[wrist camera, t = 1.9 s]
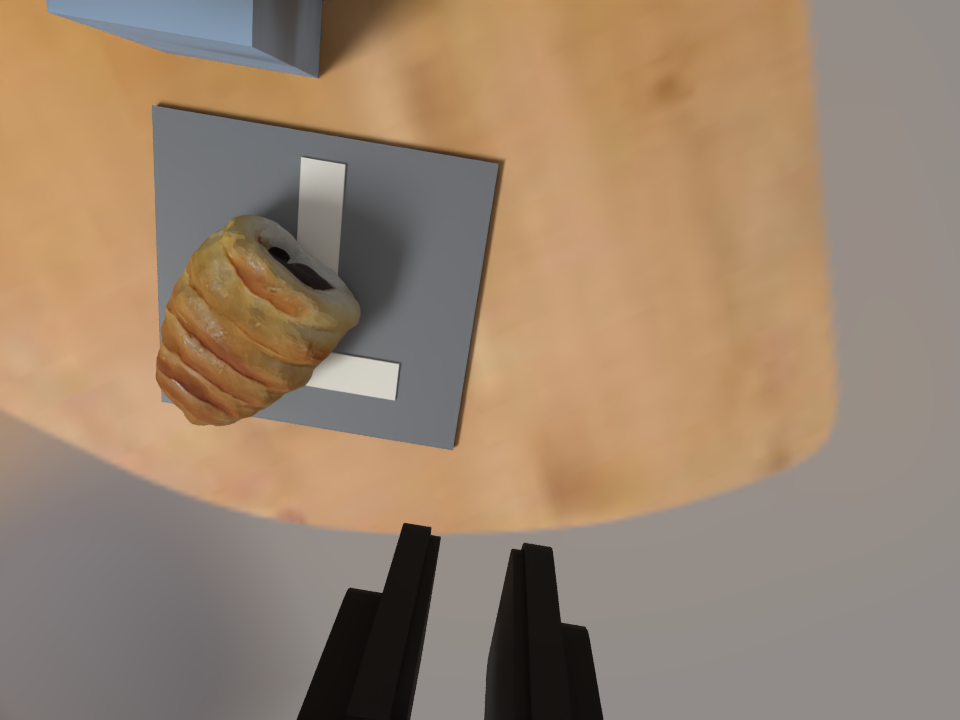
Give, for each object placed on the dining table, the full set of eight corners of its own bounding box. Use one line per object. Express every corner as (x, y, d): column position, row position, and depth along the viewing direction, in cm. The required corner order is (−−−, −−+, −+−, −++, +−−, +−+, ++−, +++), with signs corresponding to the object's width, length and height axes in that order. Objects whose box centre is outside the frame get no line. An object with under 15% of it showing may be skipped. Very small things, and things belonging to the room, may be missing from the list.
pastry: (259, 442, 27) (219, 484, 23) (139, 351, 26) (77, 381, 22) (378, 300, 24) (354, 322, 20) (251, 192, 23) (202, 195, 19)
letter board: (155, 106, 22) (150, 105, 22) (498, 163, 22) (498, 163, 22) (164, 400, 27) (160, 402, 26) (453, 448, 27) (452, 451, 26)
